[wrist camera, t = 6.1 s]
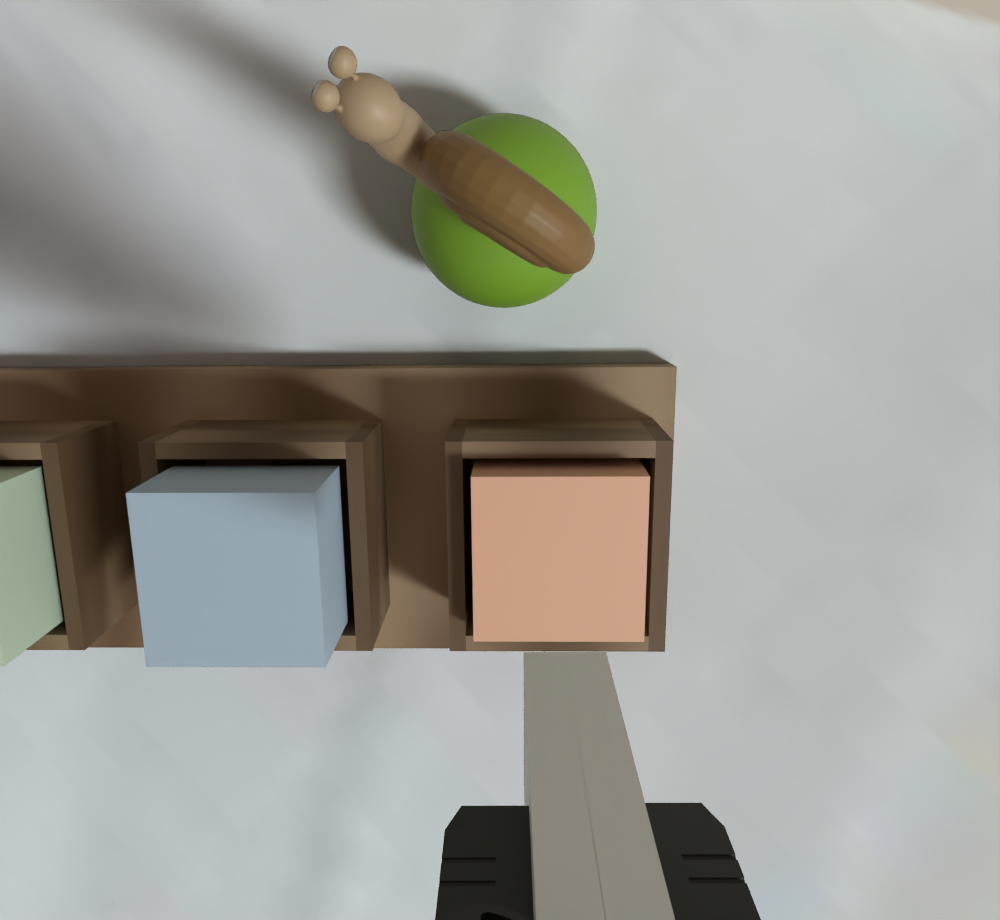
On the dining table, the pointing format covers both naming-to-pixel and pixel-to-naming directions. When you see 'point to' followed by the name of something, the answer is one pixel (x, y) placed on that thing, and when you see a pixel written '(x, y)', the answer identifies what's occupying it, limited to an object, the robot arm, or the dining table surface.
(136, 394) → the wooden socket tray
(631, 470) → the terracotta key
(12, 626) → the sage key
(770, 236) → the dining table surface
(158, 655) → the slate key
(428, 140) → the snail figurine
